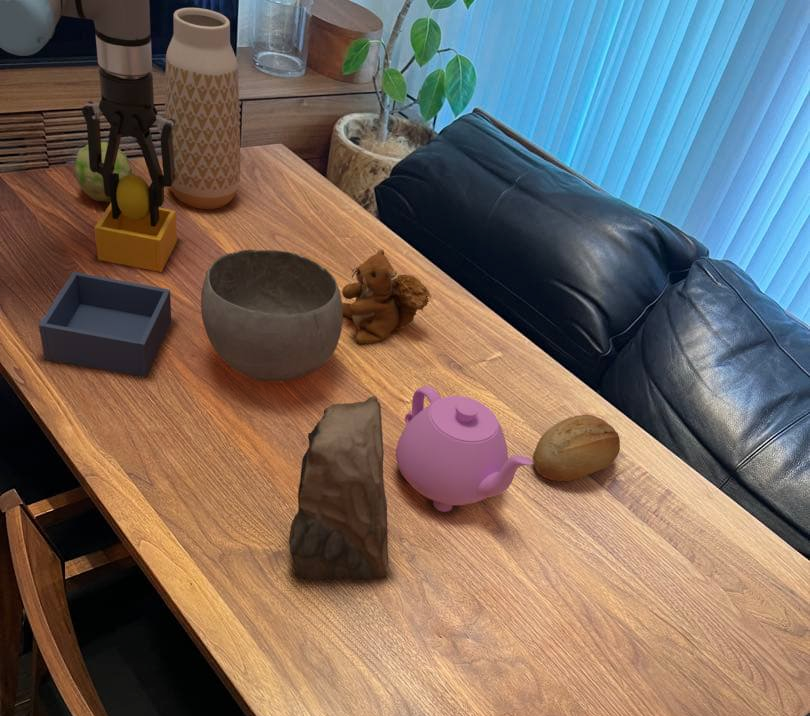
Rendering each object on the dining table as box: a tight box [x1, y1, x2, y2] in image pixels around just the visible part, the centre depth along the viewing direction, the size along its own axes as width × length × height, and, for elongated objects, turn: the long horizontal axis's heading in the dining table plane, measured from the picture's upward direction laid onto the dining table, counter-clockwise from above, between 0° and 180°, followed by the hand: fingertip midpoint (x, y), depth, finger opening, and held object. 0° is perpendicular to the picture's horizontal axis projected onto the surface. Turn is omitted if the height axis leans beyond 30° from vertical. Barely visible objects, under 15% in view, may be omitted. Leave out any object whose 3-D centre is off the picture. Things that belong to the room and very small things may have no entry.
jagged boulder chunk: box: [288, 395, 389, 581], centre depth 96 cm, size 13×13×20 cm
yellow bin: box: [93, 202, 178, 273], centre depth 137 cm, size 11×11×6 cm
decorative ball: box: [74, 141, 133, 203], centre depth 144 cm, size 10×10×10 cm
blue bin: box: [38, 271, 172, 378], centre depth 120 cm, size 15×15×6 cm
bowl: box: [200, 249, 344, 383], centre depth 119 cm, size 20×20×15 cm
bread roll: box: [532, 414, 621, 482], centre depth 119 cm, size 10×15×8 cm, turn 125°
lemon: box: [116, 172, 150, 221], centre depth 132 cm, size 6×6×8 cm
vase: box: [164, 7, 241, 210], centre depth 144 cm, size 14×14×31 cm
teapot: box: [395, 385, 534, 513], centre depth 109 cm, size 22×16×14 cm
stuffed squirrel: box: [341, 248, 433, 344], centre depth 132 cm, size 10×14×13 cm
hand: (136, 218), depth 135 cm, fingers closed on lemon, 5 cm apart
